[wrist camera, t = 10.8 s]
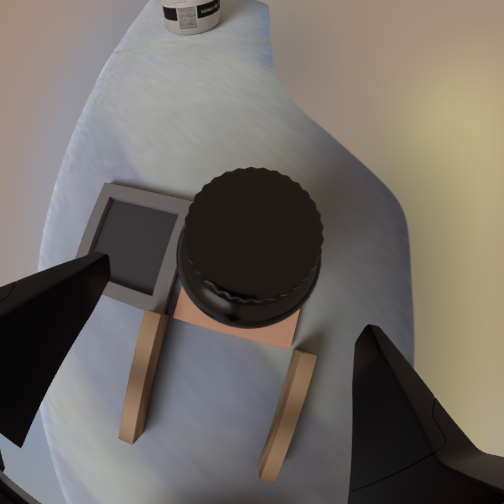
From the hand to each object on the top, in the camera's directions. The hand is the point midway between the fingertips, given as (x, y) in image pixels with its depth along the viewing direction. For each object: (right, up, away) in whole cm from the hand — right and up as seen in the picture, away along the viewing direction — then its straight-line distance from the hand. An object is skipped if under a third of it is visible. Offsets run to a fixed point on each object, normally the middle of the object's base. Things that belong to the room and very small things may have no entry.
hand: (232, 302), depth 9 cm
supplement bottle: (0, 0, +12) cm, 12 cm away
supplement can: (-8, +36, +22) cm, 43 cm away
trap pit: (-10, +2, +13) cm, 16 cm away
